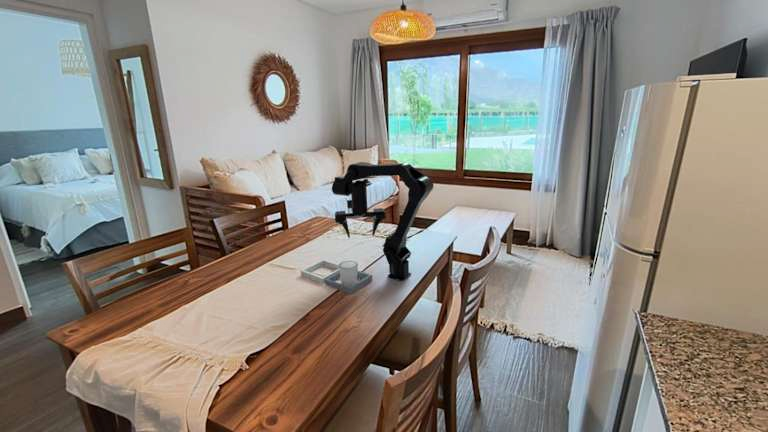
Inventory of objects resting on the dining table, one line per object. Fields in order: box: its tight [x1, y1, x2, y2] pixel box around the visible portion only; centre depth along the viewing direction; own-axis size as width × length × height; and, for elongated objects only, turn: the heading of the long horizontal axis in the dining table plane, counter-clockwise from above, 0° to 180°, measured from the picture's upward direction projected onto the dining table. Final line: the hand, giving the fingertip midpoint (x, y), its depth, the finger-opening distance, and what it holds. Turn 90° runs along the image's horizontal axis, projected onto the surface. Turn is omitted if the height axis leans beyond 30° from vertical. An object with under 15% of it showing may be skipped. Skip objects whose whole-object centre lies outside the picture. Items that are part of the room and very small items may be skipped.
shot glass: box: [338, 260, 359, 287], centre depth 124 cm, size 7×7×7 cm
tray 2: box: [324, 270, 373, 295], centre depth 125 cm, size 12×12×2 cm
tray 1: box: [300, 258, 340, 285], centre depth 132 cm, size 12×12×2 cm
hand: (361, 236), depth 132 cm, fingers open, 9 cm apart
